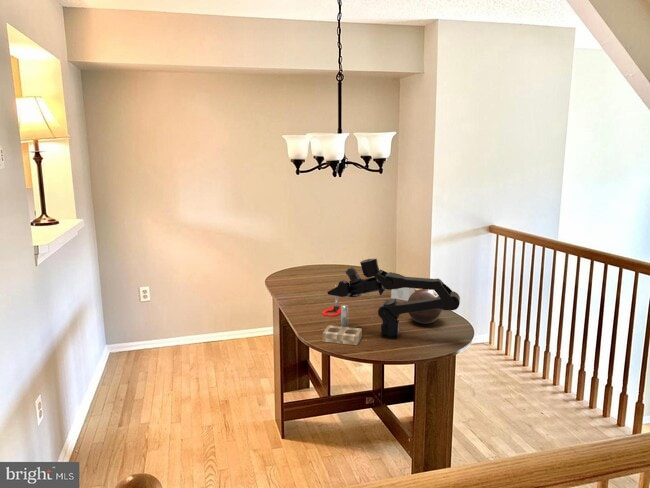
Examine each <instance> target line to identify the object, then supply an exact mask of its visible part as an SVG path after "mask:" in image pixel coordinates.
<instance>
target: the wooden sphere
mask: <svg viewBox="0 0 650 488" xmlns="http://www.w3.org/2000/svg"><path fill="white" fill-rule="evenodd" d="M435 297H438V294H437V293H436V292H435V291H434V290H429V289H417V290H415V292H414V293H412V294H411V296H410V297H409V299H408V301H407V302H409V301H416V300H423V299H429V298H435ZM442 311H443V310H441V309H431V310H424V311H417V312H410V313H408V315H409V316H410V317H411V319H413V321H414V322H417V323H419V324H426V325H427V324H431V323H433V322H435V321H436V320H438V319H439V317H440V316H441V313H442Z"/></svg>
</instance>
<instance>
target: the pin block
mask: <svg viewBox="0 0 650 488" xmlns="http://www.w3.org/2000/svg"><path fill="white" fill-rule="evenodd" d="M362 337H363V329H362V328H360V327H359V328H357V327H351V326H350V327H349V326H348V327H341V325H340V326H338V325H330V324H329V325H327V326H326V328H325V329H324V331H323V332H322V342H324V343H332V344H340V345H341V344H343V345H352V346H359V345H358V344H359V343H360V341H361V339H362Z"/></svg>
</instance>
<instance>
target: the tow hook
mask: <svg viewBox="0 0 650 488" xmlns="http://www.w3.org/2000/svg"><path fill="white" fill-rule="evenodd" d="M337 286H338V284H335V286H334V288H336V287H337ZM338 297H339V296H334V306H333V307H332V306H331V307H330V308H328V309H327V308H326V309H323V311H322V315H323V316H324V317H328V318H329V317H330V318H334V317H338V316H341V308H340V305H339V299H338ZM333 311H334V312H336V313H329V312H333Z"/></svg>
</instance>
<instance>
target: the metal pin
mask: <svg viewBox="0 0 650 488" xmlns="http://www.w3.org/2000/svg"><path fill="white" fill-rule="evenodd" d="M340 309H341V313H340V327H349V305H348V304H341V305H340Z"/></svg>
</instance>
